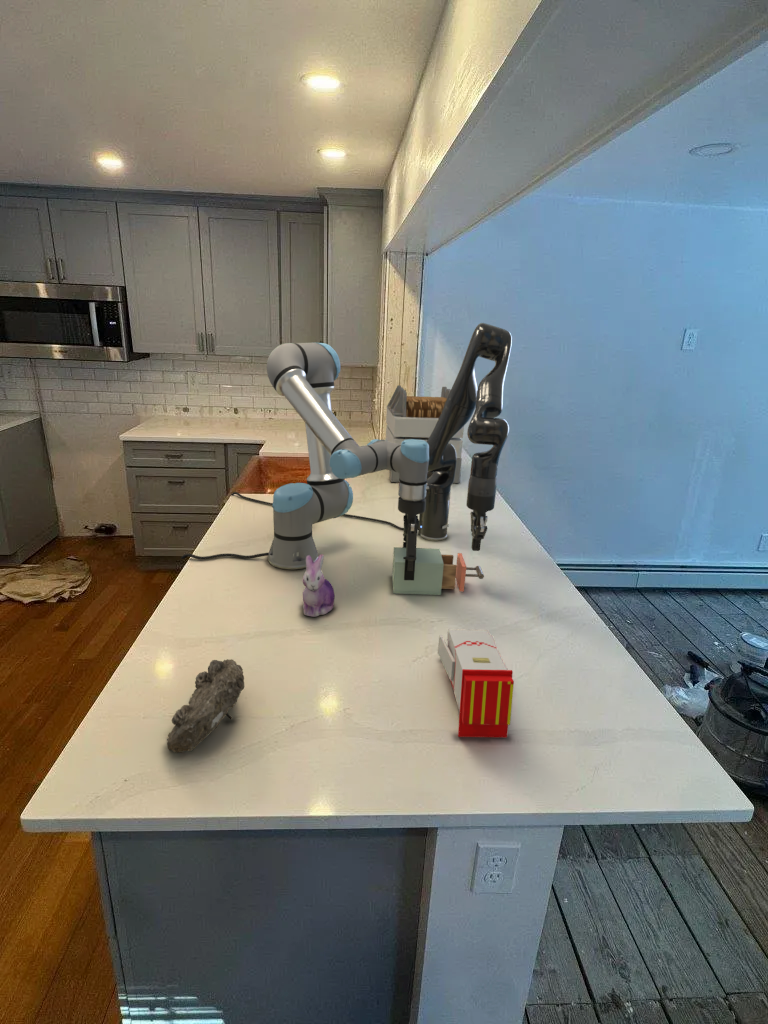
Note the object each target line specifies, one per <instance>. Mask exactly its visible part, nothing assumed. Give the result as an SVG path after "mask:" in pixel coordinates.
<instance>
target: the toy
mask: <svg viewBox="0 0 768 1024" xmlns="http://www.w3.org/2000/svg"><path fill="white" fill-rule="evenodd" d="M446 640H447V643H446V641H445V639H444V636H443V635H442V634H439V637H438V646H437V656H438V657H439V659H440V661H441V663H442V666H443V668H444V670H445V672H446V674H447V677H448V679H449V681H450V684H451V687H452V690H453V693H454V697H455V701H456V705H457V708H458V711H459V714H458V715H459V716H458V730H457V731H458V732H457V737H458V738H508V731H509V726H510V725H511V717H512V707H513V697H514V696H513V695H514V684H515V680H514V679H513V673H514V671H513V670H512V669H508V667H507V665H506V662H505V661H504V659H503V658H502V655H501V653H500V651H499V649H498V647H497V643H496V639H495V637H494V635H493V634H491V632H490V631H489V629H467V628H466V629H465V628H463V629H461V628H460V629H459V628H448V630H447V639H446Z"/></svg>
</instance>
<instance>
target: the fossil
mask: <svg viewBox="0 0 768 1024" xmlns="http://www.w3.org/2000/svg"><path fill="white" fill-rule="evenodd" d="M243 670H244V669H243V667H242V665H240V664H237V662H236V661H235V660H234V659H232V658H231V659H227V658H226V659H224V660H223V661H222V660H217V659H212V660H211V661H210V663H209V665H208V666H207V671H201V672H199V673H198V674H197V675H196V676H195V680H194V684H195V685H194V687H195V689H194V690H193V693H192V694H191V697H190V698H189V700H188V704H184V705H182V706H181V707H180V709H177V710H176V711H175V713H174V715H173V716H172V718H171V723H172V724H173V727H172V730H171V731H170V732H168V734H167V738H166V741H167V742H166V745H167V749H168V750H169V751H173V752H174V753H176V754H178V753H182V752H188V751H189V752H192V751H193V750H195V748H196V747H197V746H199V744H200V743H201V742H203V741H204V740H205V739H206V738H207V737H208V736H209V735H210V734H211V733H212V732H214V730H215V729H217V727H218V726H219V724H220V722H221V721H222V720H223V719H224V718H225V716H226V717H227V719H229V720H233V717H232V715H230V714H229V710H230V709H231V708H234V706H235V704H236V703H237V702H238V699H239V697H240V695H241V693H242V691H243V690H245V689H244V688H245V675H244V671H243Z"/></svg>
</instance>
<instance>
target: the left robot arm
mask: <svg viewBox="0 0 768 1024" xmlns="http://www.w3.org/2000/svg"><path fill="white" fill-rule="evenodd" d="M266 373H267V374H266V375H267V378H268V380H269V383H270V385H271V386H272V388H273V389H274V390H275V392H276V393H277V394H278V395H279V396H281V397H285V399H286V400H287V402H288V403H289V404H290V405H291V406H292V408H293V409H294V410H295V411H296V413H297V414H298V415H299V417H300V418H301V420H302V421H303V422H304V426H305V435H306V444H307V452H308V460H309V461H308V462H309V469H310V472H309V473H310V474H309V475H308V476H307V477H306V482H295V483H293V482H290V483H287V484H283V485H281V486H279V487H278V488H276V489H275V490H274V492H273V496H272V497H273V498H272V503H273V504H272V505H271V506H272V513H273V514H272V517H273V519H272V520H273V538H272V542H271V545H270V547H269V551H268V552H262V553H256V554H250V555H243V554H237V553H227V552H226V553H217V554H213V555H205V556H200V555H199V556H198V555H196V554H194V553H193V554H192V553H185V554H182V556H181V557H180V559H185V558H188V557H189V558H192V559H196V560H200V561H202V560H212V559H217V558H224V557H225V558H226V557H232V558H238V559H245V560H246V559H247V560H248V559H255V558H261V557H268V563H269V564H270V565H271V566H272V567H274V568H277V569H281V570H288V571H289V570H291V571H293V570H296V571H297V570H303V569H306V557H307V556H308V555H310V556H311V558H312V560H313V562H315V561H316V560H317V558H318V557H319V550H318V549H317V545H316V543H315V540H314V537H313V525H316V524H318V523H321V522H324V521H328V520H331V519H336V518H339V517H342V516H341V515H343V514H348V512H349V511H350V510H351V508H352V505H353V502H354V492H353V488H352V487H351V486H350V483H349V481H347V480H346V479H354V478H357V477H359V476H363V475H364V476H365V475H368V474H373V473H377V472H382V471H384V470H387V471H390V470H391V471H394V472H398V473H400V476H399V482H398V492H397V493H398V496H399V497H398V498H397V499H398V501H397V510H398V511H399V512H400V513H402V514H404V515H403V516H402V517H403V520H402V521H403V528H404V530H403V533H402V536H403V538H402V539H403V543H402V548H406V557H403V559H405V571H404V580H414V573H415V560H416V548H417V545H418V544H417V542H418V524H419V516H418V515H420V514H422V513H423V512H425V507H426V499H425V497H426V489H429V486H427V479H428V473H429V472H428V464H429V445H428V443H427V442H426V441H423V440H416V439H407V440H404V441H402V443H401V445H400V444H396V443H392V442H389V441H386V440H385V439H378V438H374V439H370V441H369V442H367V444H365V445H359V444H358V443H357V441H356V440H355V439H354V438H353V437H352V435H351V434H350V433H349V432H348V430H347V429H346V428H345V427H344V425H343V424H342V423H341V422H340V420H339V419H338V418H337V416H336V415H335V414H334V413H333V409H332V408H333V407H332V398H331V393H332V391H333V390H334V388H335V381H336V380H337V379H338V377H340V375H339V374H340V373H341V361H340V357H339V355H338V353H337V352H336V350H335V349H334V348H333V347H332V346H331V345H330V344H328V343H326V342H325V343H324V342H315V341H313V342H286V343H281V344H279V345H278V346H276V347H275V348H274V349H273V350H272V351H271V352H270V354H269V355H268V358H267V361H266Z"/></svg>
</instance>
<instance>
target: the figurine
mask: <svg viewBox="0 0 768 1024" xmlns="http://www.w3.org/2000/svg"><path fill="white" fill-rule="evenodd" d="M324 560H325V556H324V554H319V555H318V558H317V560H316V561H315V562H313V560H312V558H311V556H310V555H308V556H307V557H306V568H305V572H304V573H303V576H302V584H303V586H304V589H303V591H302V603H303V604H302V609H303V615H305V616H307V617H319V616H324V615H326V614H328V613H329V612H331V611H332V610H333V609H334V606H335V605H334V604H335V597H336V595H335V590H334V589H335V588H334V586H333V585H332V583H331V582H330V581H329V580H328V579H327V578H325V574H324V572H323V570H322V568H323V564H324Z"/></svg>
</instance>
